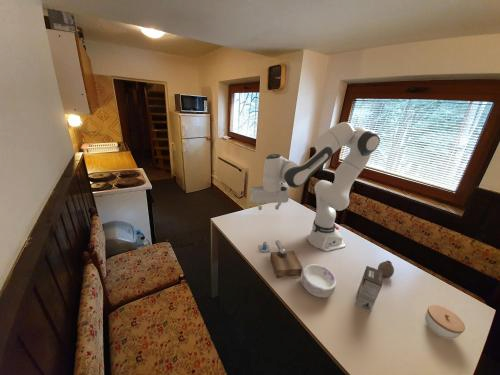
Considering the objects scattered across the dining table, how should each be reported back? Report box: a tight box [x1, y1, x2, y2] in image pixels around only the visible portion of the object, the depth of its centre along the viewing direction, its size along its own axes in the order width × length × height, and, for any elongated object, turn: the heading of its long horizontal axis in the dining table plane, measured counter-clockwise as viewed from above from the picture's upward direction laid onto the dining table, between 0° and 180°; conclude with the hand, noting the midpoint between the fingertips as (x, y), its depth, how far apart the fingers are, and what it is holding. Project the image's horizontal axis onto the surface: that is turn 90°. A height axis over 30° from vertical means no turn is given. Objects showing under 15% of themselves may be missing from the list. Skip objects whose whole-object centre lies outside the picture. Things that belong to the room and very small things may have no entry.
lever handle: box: [275, 239, 287, 256], centre depth 111 cm, size 10×3×3 cm, turn 15°
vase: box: [377, 260, 395, 279], centre depth 104 cm, size 7×7×9 cm
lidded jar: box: [424, 304, 466, 340], centre depth 79 cm, size 11×11×9 cm
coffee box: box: [355, 265, 384, 313], centre depth 88 cm, size 9×6×16 cm
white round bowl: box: [300, 263, 338, 298], centre depth 95 cm, size 15×15×8 cm
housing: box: [269, 250, 303, 279], centre depth 106 cm, size 13×13×5 cm
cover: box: [258, 241, 272, 253], centre depth 119 cm, size 6×6×4 cm
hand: (268, 209), depth 109 cm, fingers open, 8 cm apart
